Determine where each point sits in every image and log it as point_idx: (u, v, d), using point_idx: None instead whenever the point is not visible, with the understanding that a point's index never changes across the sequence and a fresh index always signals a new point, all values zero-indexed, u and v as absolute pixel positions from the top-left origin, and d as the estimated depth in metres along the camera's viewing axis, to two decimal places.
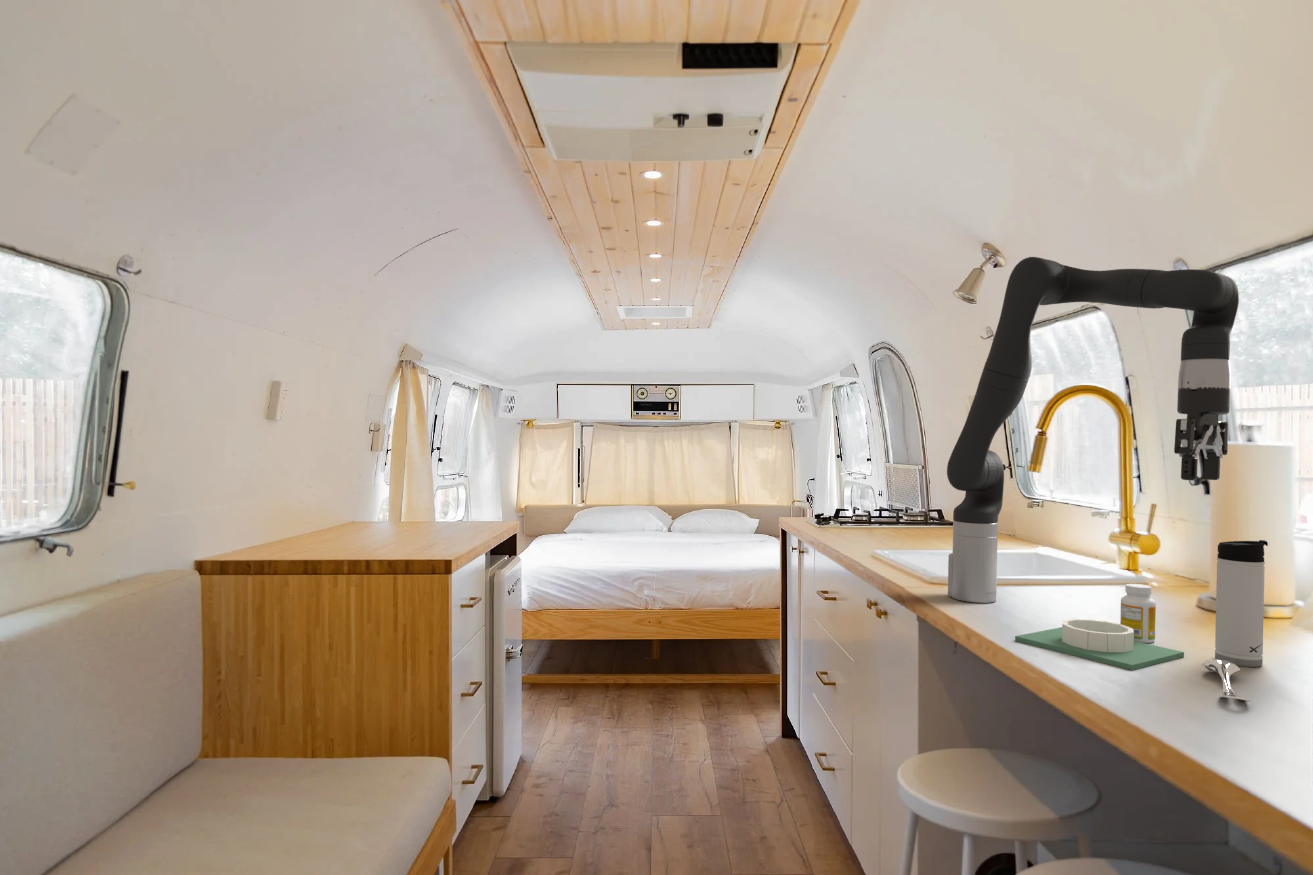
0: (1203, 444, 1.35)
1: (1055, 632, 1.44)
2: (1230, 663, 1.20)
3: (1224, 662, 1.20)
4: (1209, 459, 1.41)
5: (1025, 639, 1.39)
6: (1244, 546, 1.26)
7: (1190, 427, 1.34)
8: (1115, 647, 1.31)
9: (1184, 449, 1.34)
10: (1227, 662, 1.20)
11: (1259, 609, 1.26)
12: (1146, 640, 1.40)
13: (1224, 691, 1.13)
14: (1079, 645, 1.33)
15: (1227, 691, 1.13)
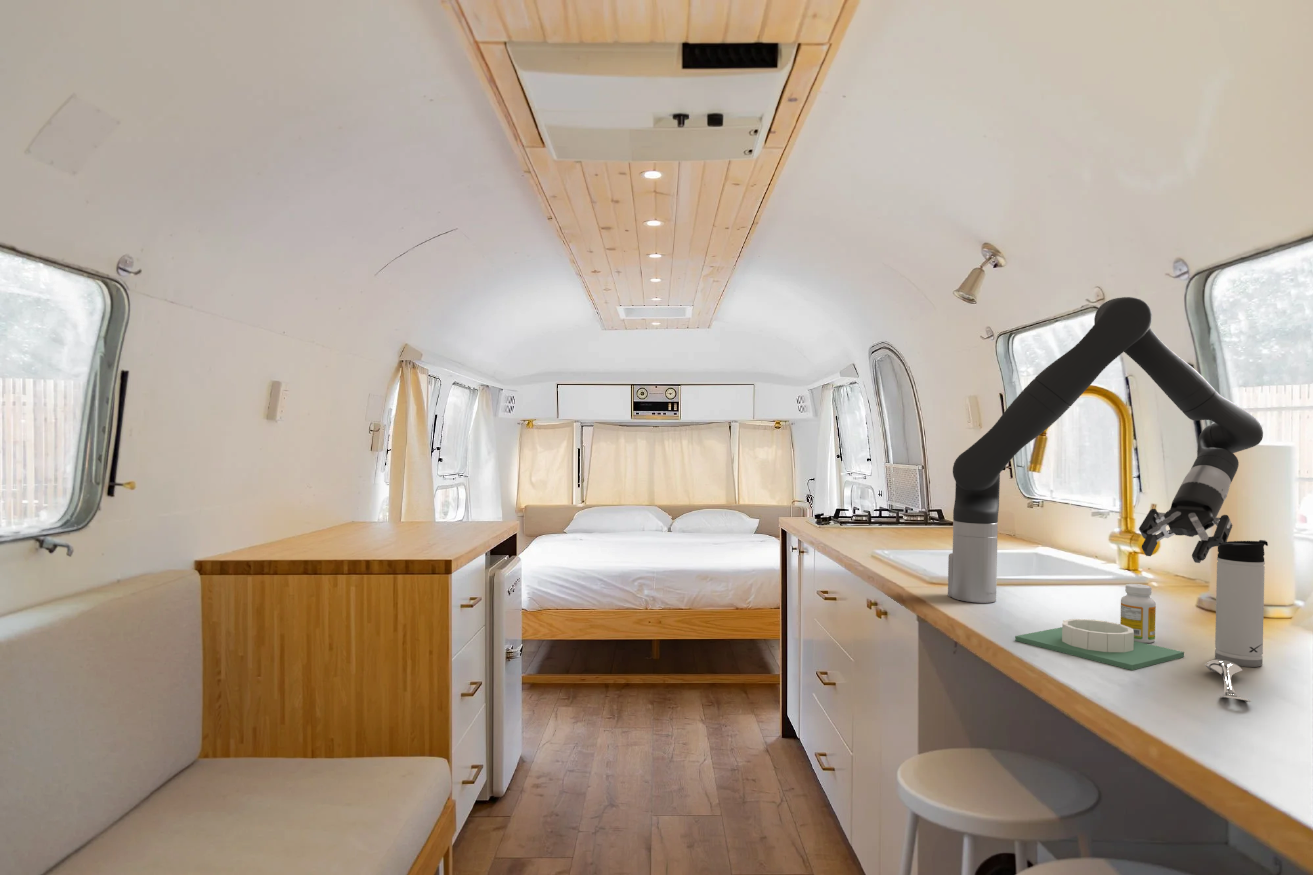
0: None
1: (1055, 632, 1.44)
2: (1232, 663, 1.19)
3: (1226, 662, 1.20)
4: (1154, 538, 1.53)
5: (1025, 639, 1.39)
6: (1244, 546, 1.26)
7: None
8: (1115, 647, 1.31)
9: (1223, 541, 1.45)
10: (1229, 662, 1.20)
11: (1259, 609, 1.26)
12: (1146, 640, 1.40)
13: (1225, 691, 1.13)
14: (1079, 645, 1.33)
15: (1228, 691, 1.13)
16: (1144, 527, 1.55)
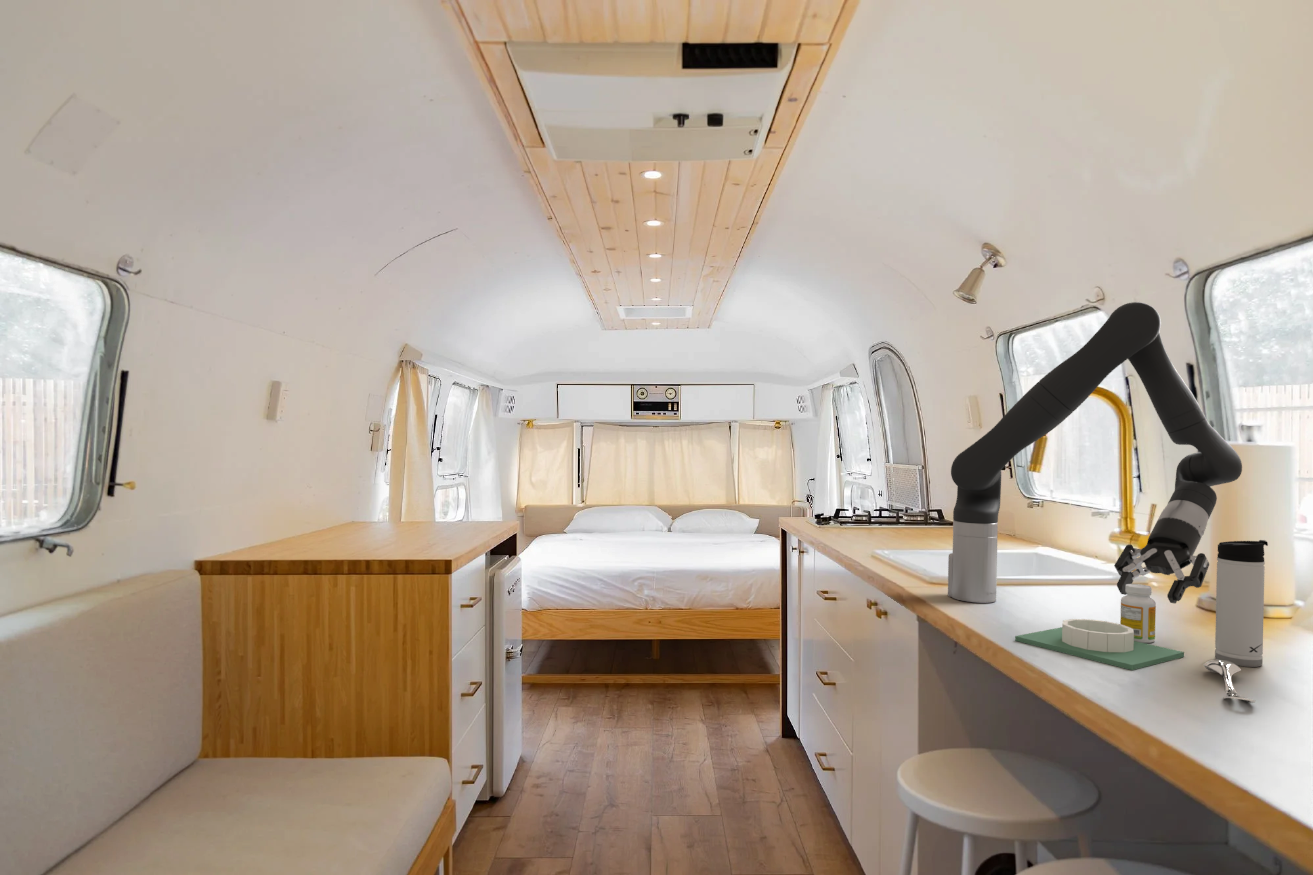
0: None
1: (1055, 632, 1.44)
2: (1231, 663, 1.19)
3: (1225, 662, 1.20)
4: (1130, 576, 1.49)
5: (1025, 639, 1.39)
6: (1244, 546, 1.26)
7: (1207, 567, 1.42)
8: (1115, 647, 1.31)
9: (1199, 581, 1.40)
10: (1228, 662, 1.20)
11: (1259, 609, 1.26)
12: (1146, 640, 1.40)
13: (1227, 692, 1.13)
14: (1079, 645, 1.33)
15: (1230, 692, 1.13)
16: (1120, 564, 1.51)
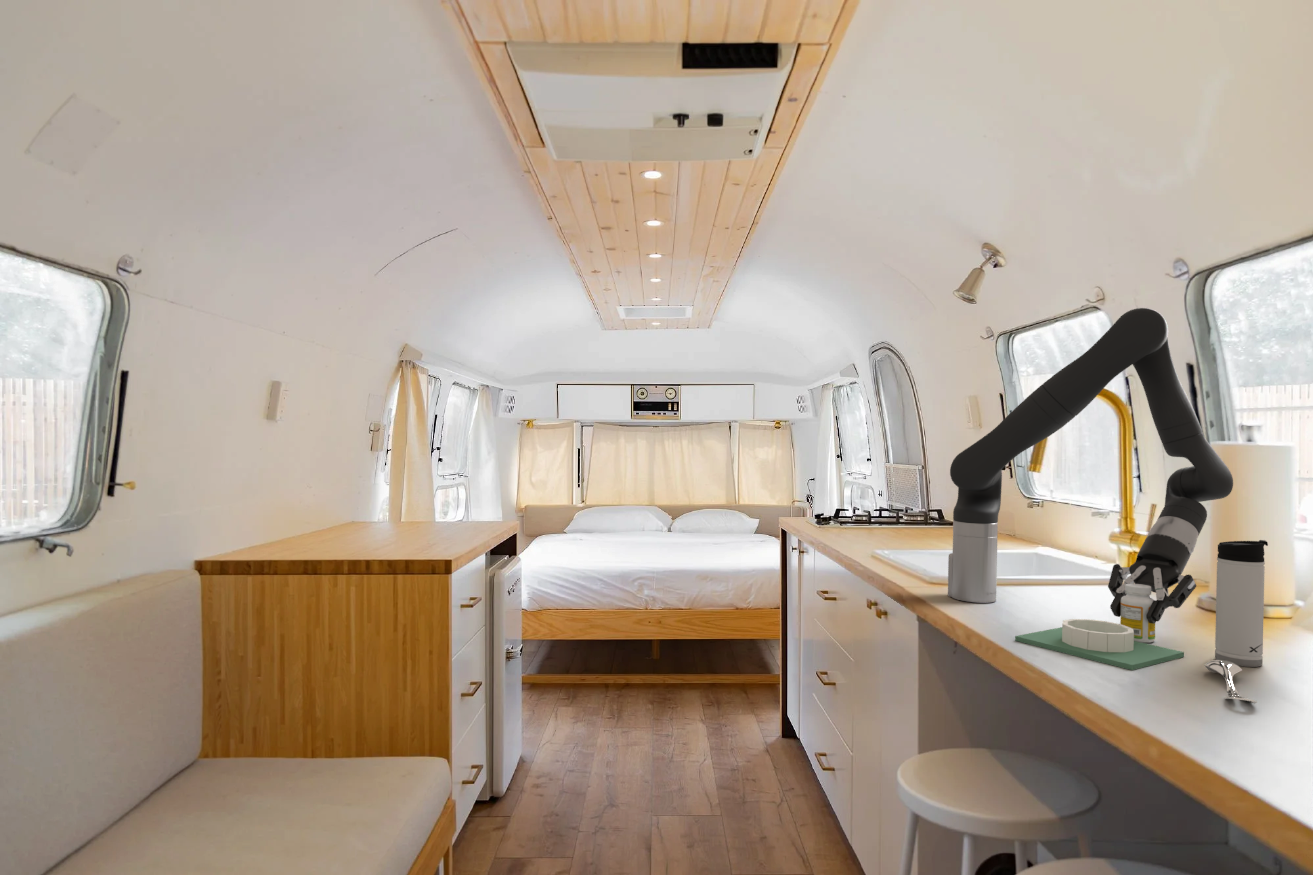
0: None
1: (1055, 632, 1.44)
2: (1232, 664, 1.19)
3: (1226, 663, 1.19)
4: None
5: (1025, 639, 1.39)
6: (1244, 546, 1.26)
7: (1193, 589, 1.40)
8: (1115, 647, 1.31)
9: (1178, 602, 1.39)
10: (1229, 663, 1.19)
11: (1259, 609, 1.26)
12: (1146, 640, 1.40)
13: (1228, 692, 1.13)
14: (1079, 645, 1.33)
15: (1231, 692, 1.12)
16: (1113, 584, 1.48)
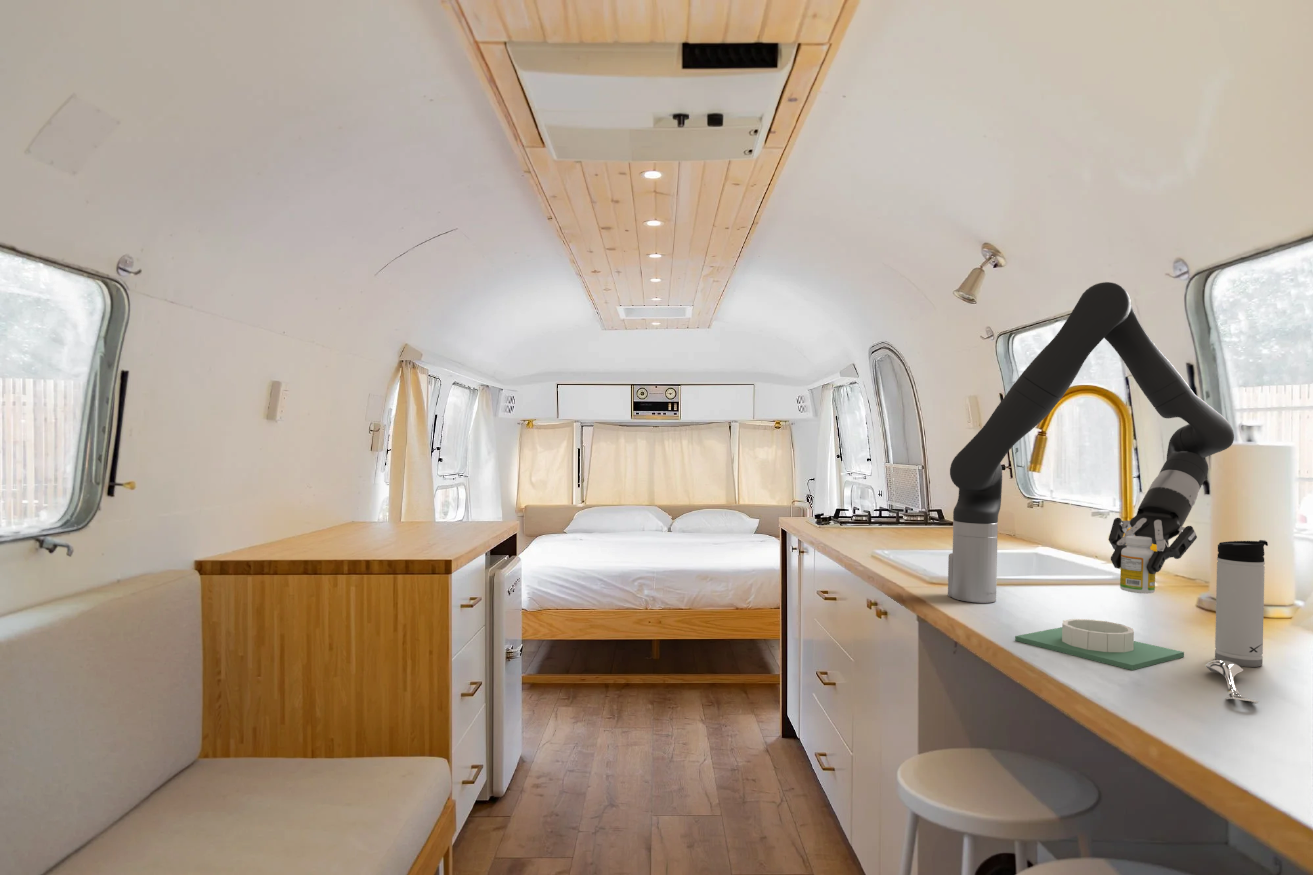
0: None
1: (1055, 632, 1.44)
2: (1233, 664, 1.19)
3: (1227, 663, 1.19)
4: None
5: (1025, 639, 1.39)
6: (1244, 546, 1.26)
7: (1193, 541, 1.40)
8: (1115, 647, 1.31)
9: (1178, 553, 1.39)
10: (1230, 663, 1.19)
11: (1259, 609, 1.26)
12: (1146, 591, 1.40)
13: (1229, 692, 1.13)
14: (1079, 645, 1.33)
15: (1233, 692, 1.12)
16: (1114, 537, 1.48)
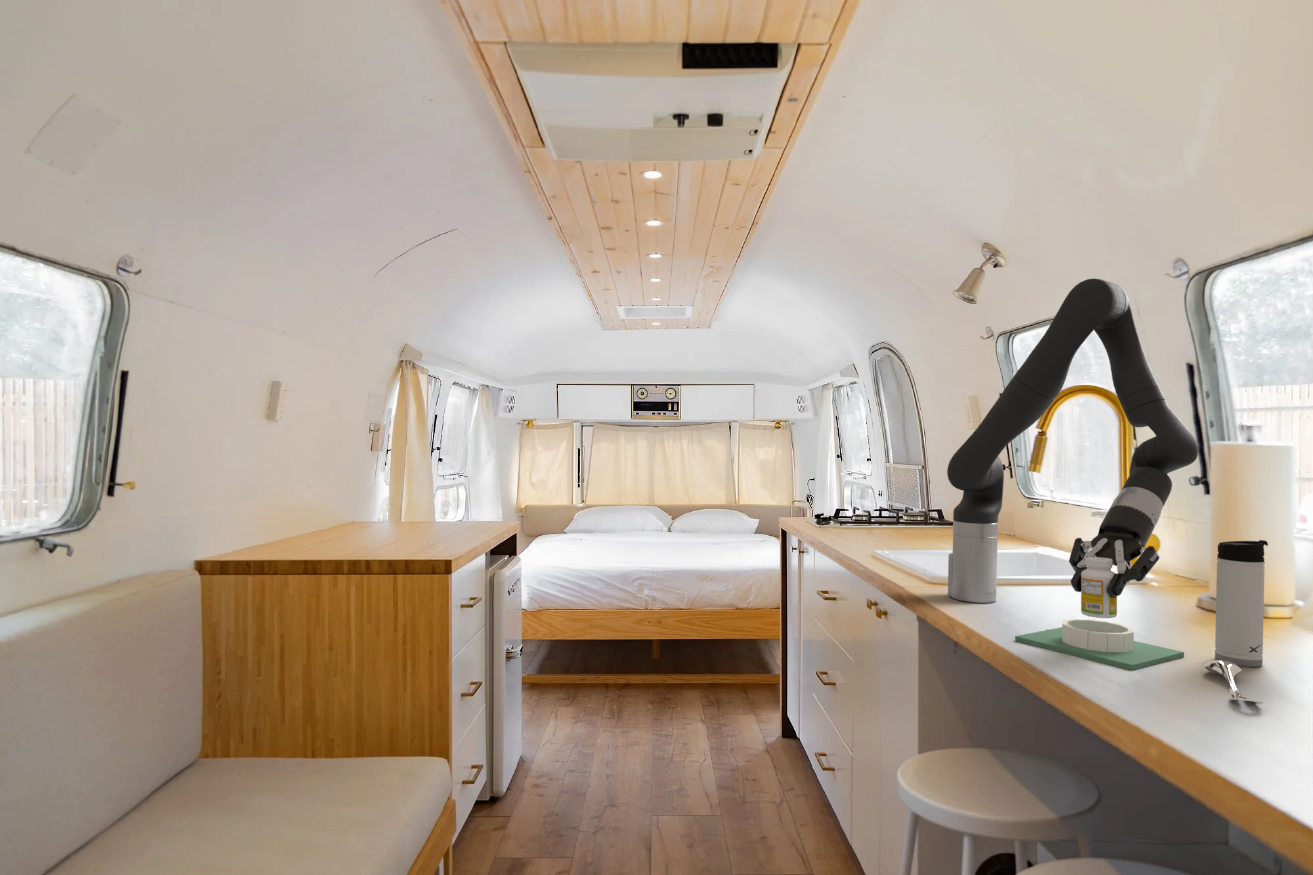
0: None
1: (1055, 632, 1.44)
2: (1232, 664, 1.19)
3: (1226, 663, 1.19)
4: None
5: (1025, 639, 1.39)
6: (1244, 546, 1.26)
7: (1155, 562, 1.33)
8: (1115, 647, 1.31)
9: (1140, 575, 1.32)
10: (1229, 663, 1.19)
11: (1259, 609, 1.26)
12: (1107, 615, 1.33)
13: (1231, 693, 1.13)
14: (1079, 645, 1.33)
15: (1235, 693, 1.12)
16: (1074, 559, 1.41)
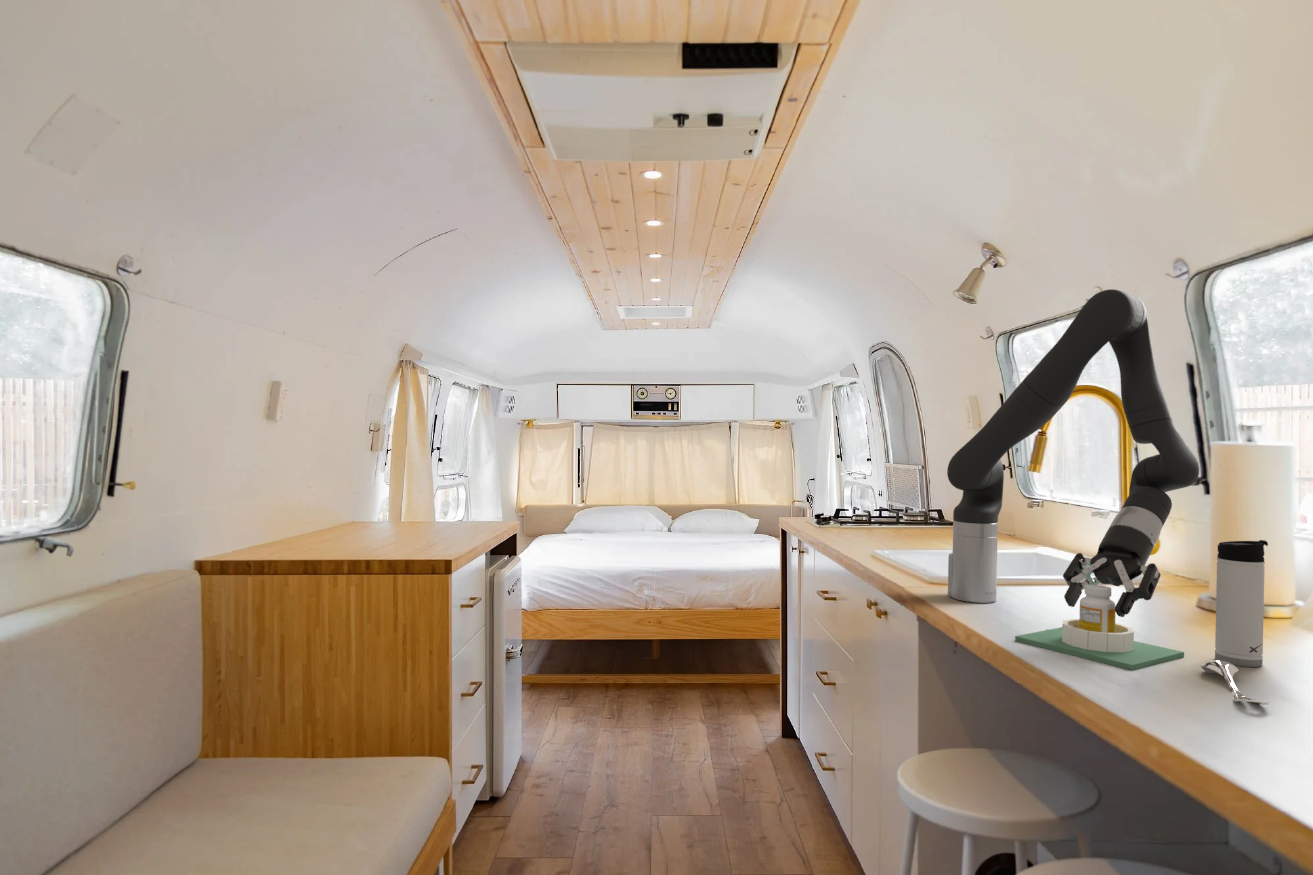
0: None
1: (1055, 632, 1.44)
2: (1229, 663, 1.19)
3: (1223, 663, 1.19)
4: (1078, 587, 1.40)
5: (1025, 639, 1.39)
6: (1244, 546, 1.26)
7: (1158, 579, 1.33)
8: (1115, 647, 1.31)
9: (1149, 593, 1.31)
10: (1226, 662, 1.20)
11: (1259, 609, 1.26)
12: None
13: (1233, 693, 1.12)
14: (1079, 645, 1.33)
15: (1237, 693, 1.12)
16: (1068, 574, 1.42)
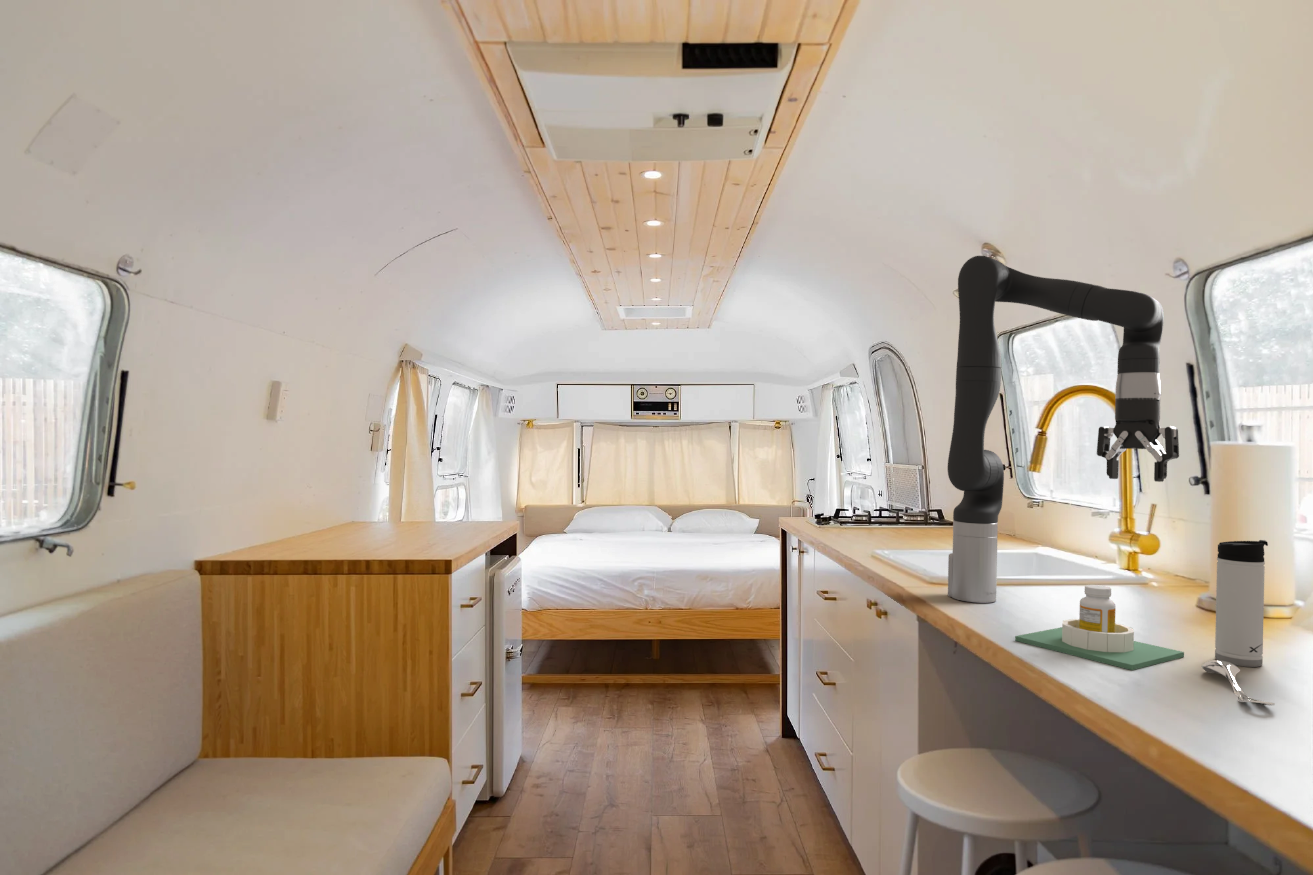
0: None
1: (1055, 632, 1.44)
2: (1231, 664, 1.19)
3: (1225, 663, 1.19)
4: (1114, 460, 1.58)
5: (1025, 639, 1.39)
6: (1244, 546, 1.26)
7: (1177, 434, 1.50)
8: (1115, 647, 1.31)
9: (1176, 454, 1.49)
10: (1228, 663, 1.19)
11: (1259, 609, 1.26)
12: None
13: (1237, 694, 1.12)
14: (1079, 645, 1.33)
15: (1240, 694, 1.12)
16: (1101, 451, 1.60)
